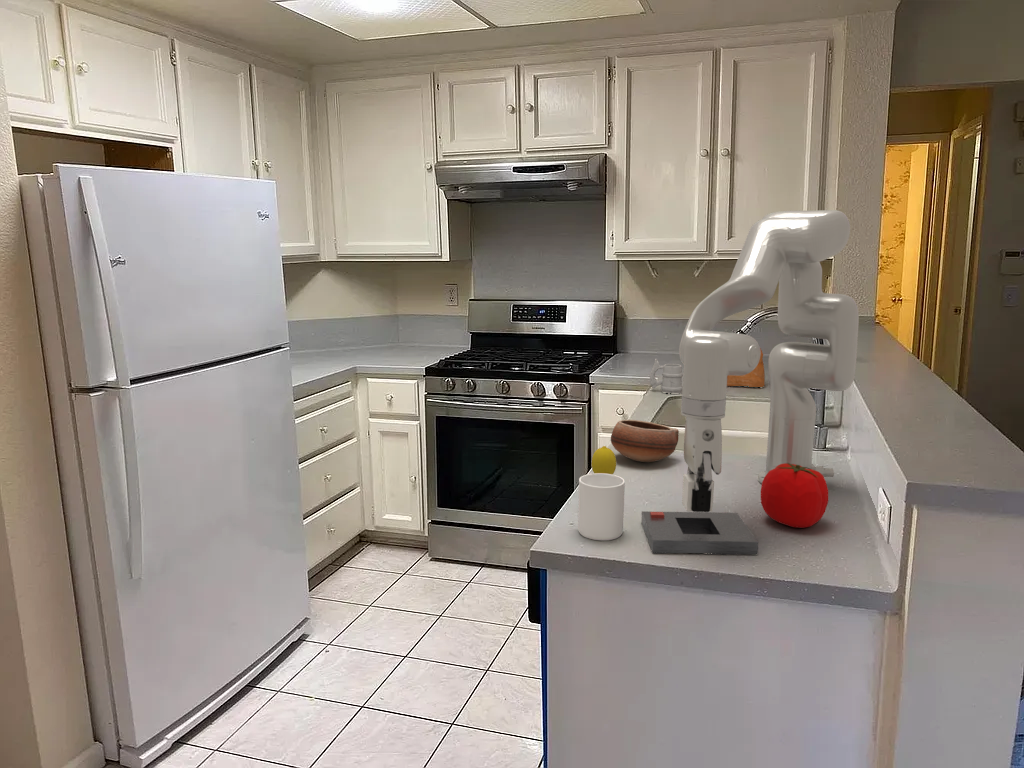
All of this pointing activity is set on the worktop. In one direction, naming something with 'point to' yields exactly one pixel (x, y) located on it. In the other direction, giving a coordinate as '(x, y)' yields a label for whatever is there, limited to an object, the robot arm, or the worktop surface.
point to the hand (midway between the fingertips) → (697, 505)
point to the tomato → (794, 495)
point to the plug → (687, 491)
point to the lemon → (604, 461)
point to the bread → (749, 377)
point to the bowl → (644, 440)
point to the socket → (698, 533)
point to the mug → (667, 377)
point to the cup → (601, 506)
